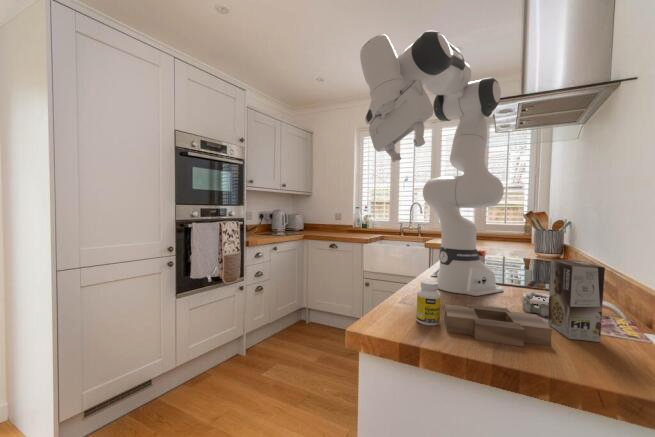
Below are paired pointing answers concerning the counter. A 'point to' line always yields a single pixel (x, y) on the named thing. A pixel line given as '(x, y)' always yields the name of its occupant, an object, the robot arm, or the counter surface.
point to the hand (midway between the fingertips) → (408, 153)
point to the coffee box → (576, 299)
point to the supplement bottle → (428, 303)
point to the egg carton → (530, 308)
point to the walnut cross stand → (497, 325)
